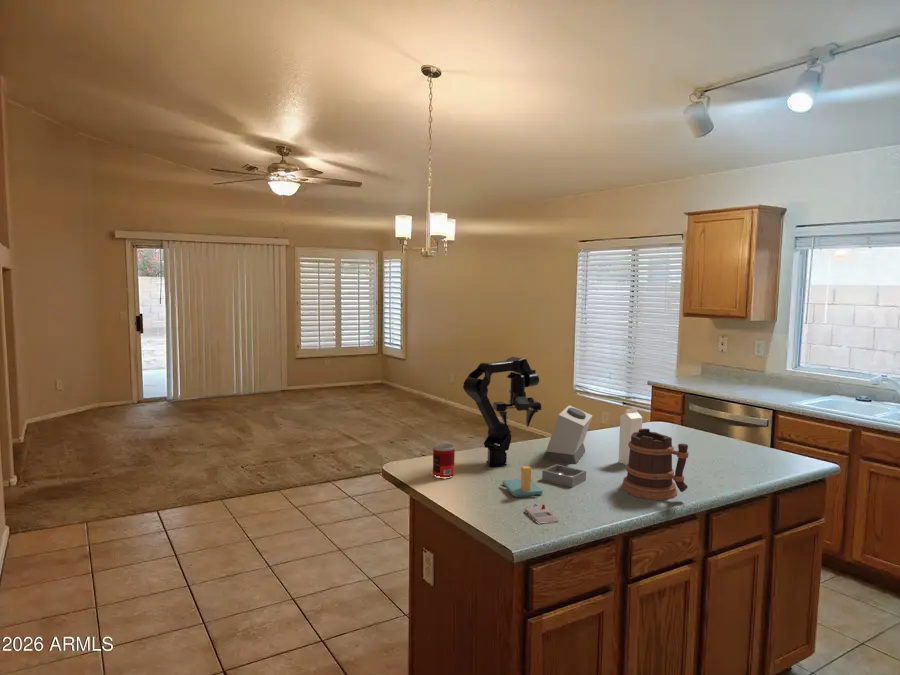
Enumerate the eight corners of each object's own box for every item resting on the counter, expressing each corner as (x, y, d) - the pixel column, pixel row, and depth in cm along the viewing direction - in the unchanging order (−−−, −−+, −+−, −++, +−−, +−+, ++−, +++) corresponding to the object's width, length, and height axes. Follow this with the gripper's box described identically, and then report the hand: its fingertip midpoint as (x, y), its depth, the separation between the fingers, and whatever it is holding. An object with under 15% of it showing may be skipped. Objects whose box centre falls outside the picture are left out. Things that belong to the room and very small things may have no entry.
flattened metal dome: (550, 478, 206) (550, 473, 206) (555, 475, 209) (555, 470, 209) (559, 481, 204) (560, 475, 204) (565, 478, 207) (565, 472, 207)
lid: (502, 486, 199) (503, 459, 198) (529, 484, 201) (530, 458, 201) (513, 498, 188) (514, 470, 187) (542, 496, 190) (543, 468, 189)
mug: (671, 508, 182) (674, 446, 180) (610, 488, 199) (612, 431, 198) (700, 495, 194) (703, 437, 192) (640, 477, 211) (642, 424, 209)
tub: (542, 481, 205) (542, 470, 205) (556, 474, 213) (556, 464, 212) (572, 489, 197) (572, 477, 197) (585, 482, 205) (586, 471, 205)
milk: (618, 462, 230) (620, 407, 228) (629, 460, 232) (631, 406, 230) (629, 466, 224) (631, 410, 222) (640, 464, 227) (642, 409, 225)
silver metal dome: (562, 481, 203) (562, 476, 203) (568, 478, 206) (568, 473, 206) (572, 484, 201) (572, 478, 200) (578, 481, 204) (578, 476, 203)
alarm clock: (554, 447, 249) (555, 401, 247) (591, 452, 243) (593, 405, 241) (542, 460, 230) (544, 410, 228) (582, 466, 224) (584, 414, 222)
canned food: (457, 474, 211) (458, 445, 210) (448, 480, 204) (448, 450, 203) (438, 471, 215) (439, 442, 214) (429, 477, 207) (429, 447, 206)
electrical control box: (540, 528, 166) (541, 518, 166) (519, 508, 181) (519, 499, 181) (561, 526, 168) (561, 516, 167) (538, 506, 183) (538, 497, 182)
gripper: (501, 392, 220) (500, 433, 221) (547, 391, 223) (545, 431, 225) (492, 387, 230) (492, 426, 232) (536, 386, 234) (535, 424, 236)
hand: (516, 427), depth 231 cm, fingers open, 9 cm apart
